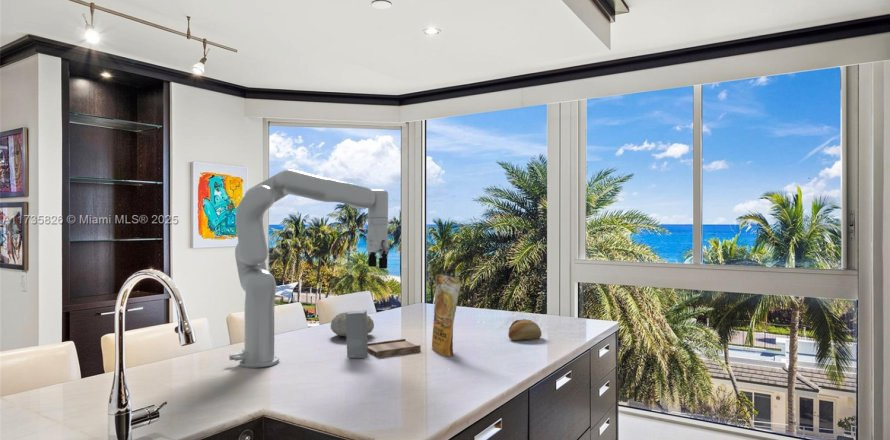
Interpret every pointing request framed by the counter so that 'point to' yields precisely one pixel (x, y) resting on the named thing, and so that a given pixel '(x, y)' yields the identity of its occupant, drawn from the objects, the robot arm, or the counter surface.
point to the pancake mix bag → (445, 313)
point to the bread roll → (524, 330)
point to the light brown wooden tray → (392, 348)
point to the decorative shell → (340, 324)
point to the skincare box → (356, 334)
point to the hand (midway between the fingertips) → (377, 267)
